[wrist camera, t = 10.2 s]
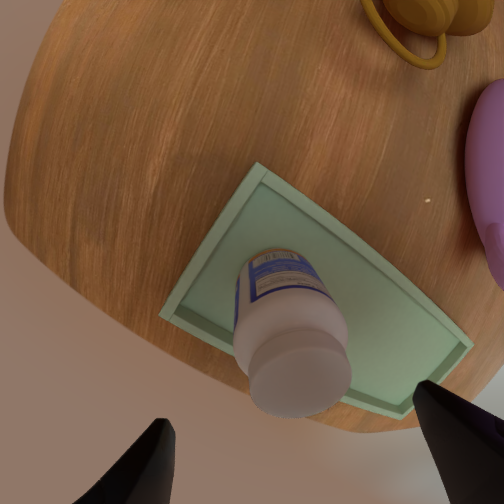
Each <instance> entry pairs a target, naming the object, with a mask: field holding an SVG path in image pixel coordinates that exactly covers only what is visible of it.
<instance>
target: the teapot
mask: <svg viewBox="0 0 504 504" xmlns="http://www.w3.org/2000/svg"><path fill="white" fill-rule="evenodd" d="M464 161H465V181H466V189H467V195H468V200H469V204H470V208H471V212H472V216H473V219H474V222H475V225H476V228H477V231H478V234H479V236H480V239H481V241H482V243H483V245H484V248H485V253H486V258H487V262H488V266H489V269H490V272H491V274H492V276H493V278H494V279H495V281H496V283H497V284H498V286H499V287H500V288H501V289H502V290H503V291H504V79H499V80H495V81H494V82H492V83H491V84H490V85H488V86H487V87H486V88H485V90H484V91H483V92H482V94H481V95H480V97H479V99H478V101H477V103H476V106H475V108H474V111H473V114H472V116H471V120H470V124H469V127H468V131H467V137H466V144H465V160H464Z"/></svg>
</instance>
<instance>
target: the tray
mask: <svg viewBox="0 0 504 504" xmlns="http://www.w3.org/2000/svg"><path fill="white" fill-rule="evenodd" d="M272 248H285V249H290V250H293V251H295V252H297V253H299V254H300V255H302V256H303V257H304V258H306V260H307V261H308V262H309V263H310V264H311V265H312V267H313V268H314V270H315V271H316V273H317V275H318V276H319V278H320V279H321V281H322V282H323V284H324V285H325V287H326V289H327V290H328V292H329V293H330V295H331V297H332V298H333V300H334V301H335V303H336V304H337V306H338V308H339V309H340V311H341V313H342V315H343V317H344V319H345V321H346V324H347V328H348V344H347V348H346V351H345V352H346V355H347V358H348V360H349V363H350V366H351V369H352V380H351V384H350V386H349V388H348V390H347V392H346V393H345V395H344V396H343V397H342V398H341V399H340V400H339V401H341V402H344V403H347V404H350V405H353V406H356V407H359V408H362V409H365V410H368V411H371V412H375V413H378V414H381V415H385V416H388V417H392V418H395V419H399V420H401V419H403V418H404V417H405V416H406V415H407V414H408V413H410V412H411V411H412V410H413V409H414V408H415V407H414V404H413V401H412V397H413V394H414V391H415V388H416V386H417V384H418V383H419V382H420V381H423V380H426V379H428V380H430V381H432V382H434V383H436V384H438V385H439V384H440V383H441V382H442V381H443V380H444V379H445V378H446V377H447V376H448V375H449V374H450V372H451V371H452V370H453V369H454V368H455V367H456V366H457V365H458V363H459V362H460V361H461V360H462V359H463V358H464V356H465V355H466V354H467V353H468V352H469V350H470V349H471V348H472V347H473V345H474V343H473V342H472V341H471V340H470V339H469V338H468V337H467V336H466V334H465V333H464V332H463V331H462V330H461V329H460V328H459V327H458V326H457V325H456V324H455V323H454V322H453V321H452V320H451V319H450V318H449V317H448V316H447V315H446V314H445V313H444V312H443V311H442V310H441V309H440V308H439V307H438V306H437V305H436V304H435V303H434V302H433V301H432V300H430V299H429V298H428V297H427V296H426V295H425V294H424V293H423V292H422V291H421V290H420V289H419V288H418V287H417V286H415V285H414V284H413V283H412V282H411V281H410V280H409V279H408V278H407V277H406V276H404V275H403V274H402V273H401V272H400V271H399V270H398V269H397V268H395V267H394V266H393V265H392V264H391V263H390V262H389V261H387V260H386V259H385V258H384V257H383V256H382V255H380V254H379V253H378V252H377V251H376V250H374V249H373V248H372V247H371V246H370V245H368V244H367V243H366V242H365V241H364V240H362V239H361V238H360V237H359V236H357V235H356V234H355V233H354V232H352V231H351V230H350V229H349V228H347V227H346V226H345V225H344V224H342V223H341V222H340V221H339V220H337V219H336V218H335V217H333V216H332V215H331V214H329V213H328V212H327V211H326V210H324V209H323V208H322V207H320V206H319V205H318V204H316V203H315V202H314V201H312V200H311V199H310V198H308V197H307V196H305V195H304V194H303V193H301V192H300V191H299V190H297V189H296V188H294V187H293V186H292V185H290V184H289V183H287V182H286V181H285V180H283V179H282V178H280V177H279V176H277V175H276V174H274V173H273V172H272V171H270V170H268V169H267V168H266V167H264V166H263V165H261V164H260V163H258V162H254V164H253V165H252V167H251V168H250V170H249V171H248V172H247V174H246V175H245V177H244V178H243V180H242V181H241V183H240V184H239V186H238V187H237V189H236V190H235V192H234V193H233V195H232V196H231V197H230V199H229V200H228V202H227V203H226V205H225V207H224V208H223V210H222V211H221V213H220V214H219V216H218V217H217V219H216V220H215V222H214V223H213V225H212V226H211V228H210V230H209V231H208V233H207V234H206V236H205V237H204V239H203V240H202V242H201V244H200V245H199V247H198V248H197V250H196V252H195V253H194V255H193V256H192V258H191V260H190V261H189V263H188V264H187V266H186V268H185V269H184V271H183V273H182V274H181V276H180V277H179V279H178V281H177V282H176V284H175V286H174V287H173V289H172V291H171V292H170V294H169V296H168V297H167V299H166V301H165V303H164V305H163V307H162V309H161V311H160V313H159V316H160V317H162V318H163V319H165V320H167V321H169V322H170V323H172V324H174V325H176V326H177V327H179V328H181V329H183V330H184V331H186V332H188V333H190V334H192V335H193V336H195V337H197V338H199V339H201V340H203V341H205V342H207V343H208V344H210V345H212V346H214V347H216V348H218V349H220V350H222V351H224V352H226V353H228V354H230V355H232V356H234V351H233V329H234V309H235V288H236V282H237V278H238V275H239V272H240V270H241V269H242V267H243V266H244V264H245V263H246V262H247V261H248V260H249V259H250V258H251V257H253V256H254V255H256V254H258V253H259V252H261V251H264V250H267V249H272ZM234 357H235V356H234Z"/></svg>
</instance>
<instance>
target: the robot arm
mask: <svg viewBox="0 0 504 504" xmlns="http://www.w3.org/2000/svg"><path fill="white" fill-rule="evenodd" d="M412 401H413V404H414V407H415V410H416V414H417V417H418V420H419V423H420V426H421V429H422V432H423V435H424V437H425V440H426V442H427V444H428V447H429V449H430V451H431V454H432V456H433V459H434V461H435V464H436V466H437V468H438V471H439V474H440V476H441V479H442V482H443V484H444V487H445V490H446V493H447V496H448V498H449V501H450V504H504V420H502V419H500V418H498V417H496V416H494V415H493V414H491V413H489V412H487V411H485V410H483V409H481V408H479V407H478V406H476V405H474V404H472V403H470V402H468V401H467V400H465V399H463V398H461V397H459V396H457V395H456V394H454V393H452V392H450V391H448V390H447V389H445V388H443V387H441V386H439V385H438V384H436V383H434V382H432V381H430V380H428V379H426V380H423V381H420V382H419V383H418V384H417V386H416V388H415V391H414V394H413V397H412ZM174 464H175V431H174V429H173V427H172V425H171V423H170V422H169V420H168V419H166V418H156V419H155V420H154V421H153V422H152V423H151V425H150V426H149V427H148V428H147V429H146V430H145V431H144V432H143V433H142V435H141V436H140V437H139V438H138V439H137V440H136V441H135V442H134V443H133V444H132V445H131V447H130V448H129V449H128V450H127V451H126V452H125V453H124V454H123V455H122V456H121V457H120V459H119V460H118V461H117V462H116V463H115V464H114V465H113V466H112V467H111V468H110V469H109V470H108V471H107V472H106V473H105V474H104V475H103V476H102V477H101V478H100V480H98V481H97V482H96V483H95V485H93V486H92V487H91V488H90V489H89V490H88V491H87V492H86V493H85V494H84V495H83V496H81V497H80V498H79V499H78V500H76V501H75V502H74V503H72V504H169V503H170V495H171V489H172V482H173V476H174Z"/></svg>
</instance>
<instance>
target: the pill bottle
mask: <svg viewBox="0 0 504 504" xmlns="http://www.w3.org/2000/svg"><path fill="white" fill-rule="evenodd" d="M347 344H348V328H347V324H346V321H345V319H344V317H343V315H342V313H341V311H340V309H339V308H338V306H337V304H336V303H335V301H334V300H333V298H332V297H331V295H330V293H329V292H328V290H327V289H326V287H325V285H324V284H323V282H322V281H321V279H320V278H319V276H318V275H317V273H316V271H315V270H314V268H313V267H312V265H311V264H310V263H309V262H308V261H307V260H306V258H304V257H303V256H302V255H300V254H299V253H297V252H295V251H293V250H290V249H285V248H272V249H267V250H264V251H261V252H259V253H258V254H256V255H254V256H253V257H251V258H250V259H249V260H248V261H247V262H246V263H245V264H244V266H243V267H242V269H241V270H240V272H239V275H238V278H237V282H236V288H235V309H234V329H233V351H234V356H235V359H236V361H237V363H238V365H239V367H240V368H241V370H242V371H243V372H244V373H245V374H246V375H247V376H248V378H249V389H250V395H251V398H252V400H253V402H254V403H255V405H256V406H257V407H258V408H259V409H261V410H262V411H264V412H265V413H267V414H270V415H273V416H276V417H281V418H302V417H307V416H311V415H314V414H317V413H320V412H322V411H324V410H326V409H328V408H330V407H331V406H333V405H334V404H336V403H337V402H338V401H339V400H340V399H341V398H342V397H343V396H344V395H345V393H346V392H347V390H348V388H349V386H350V384H351V380H352V369H351V366H350V363H349V360H348V358H347V355H346V352H345V351H346V348H347Z"/></svg>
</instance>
